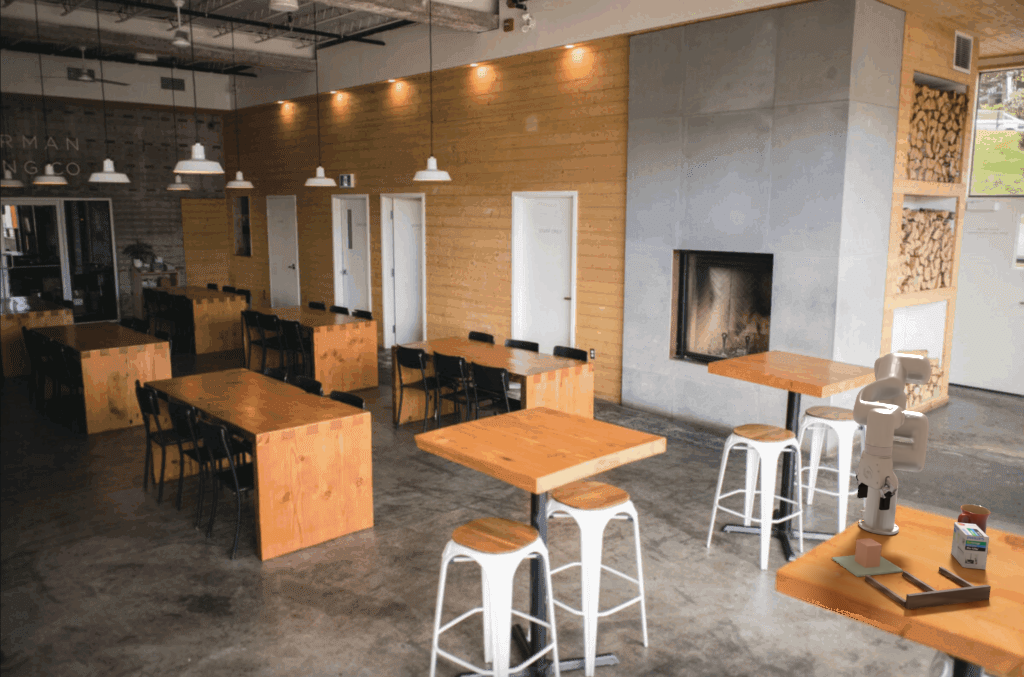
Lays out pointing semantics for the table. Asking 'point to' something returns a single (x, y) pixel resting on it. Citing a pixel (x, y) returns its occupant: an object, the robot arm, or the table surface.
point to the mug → (974, 516)
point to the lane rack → (935, 592)
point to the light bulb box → (970, 545)
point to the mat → (860, 571)
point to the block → (868, 552)
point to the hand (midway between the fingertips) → (872, 503)
